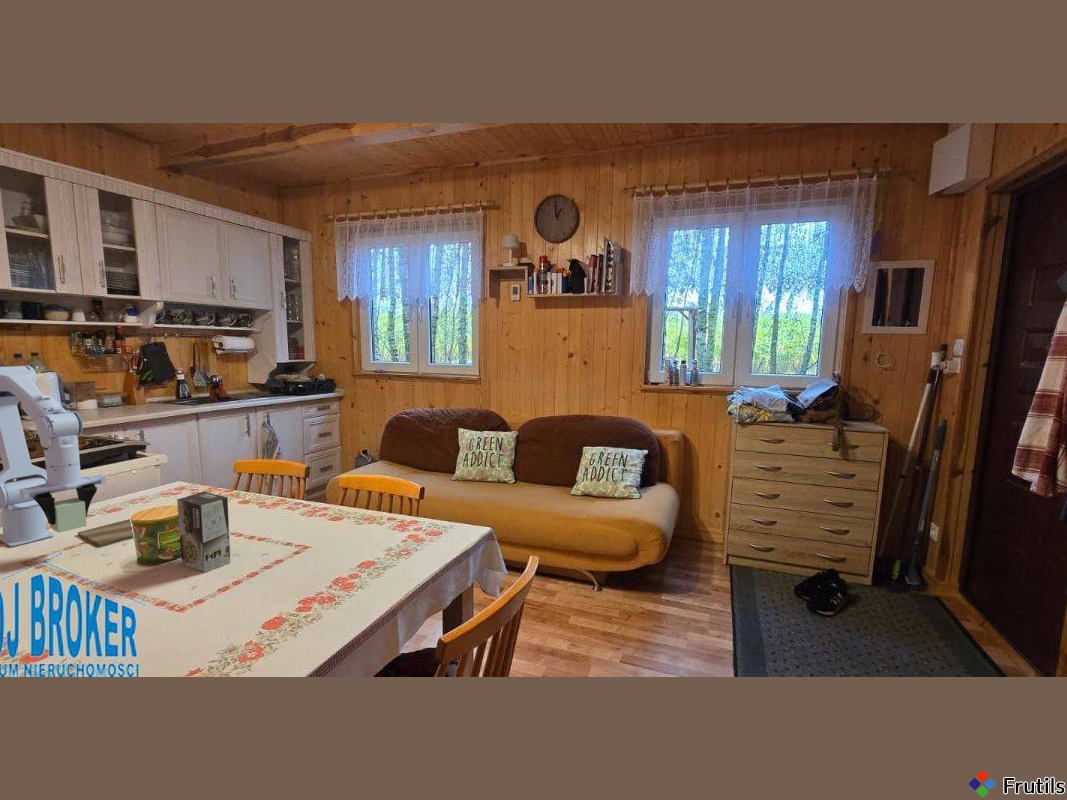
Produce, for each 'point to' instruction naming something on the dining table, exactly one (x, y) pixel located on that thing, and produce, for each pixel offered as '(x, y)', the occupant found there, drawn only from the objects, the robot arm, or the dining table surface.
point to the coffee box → (204, 531)
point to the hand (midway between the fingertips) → (68, 519)
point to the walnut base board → (108, 533)
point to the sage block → (69, 515)
